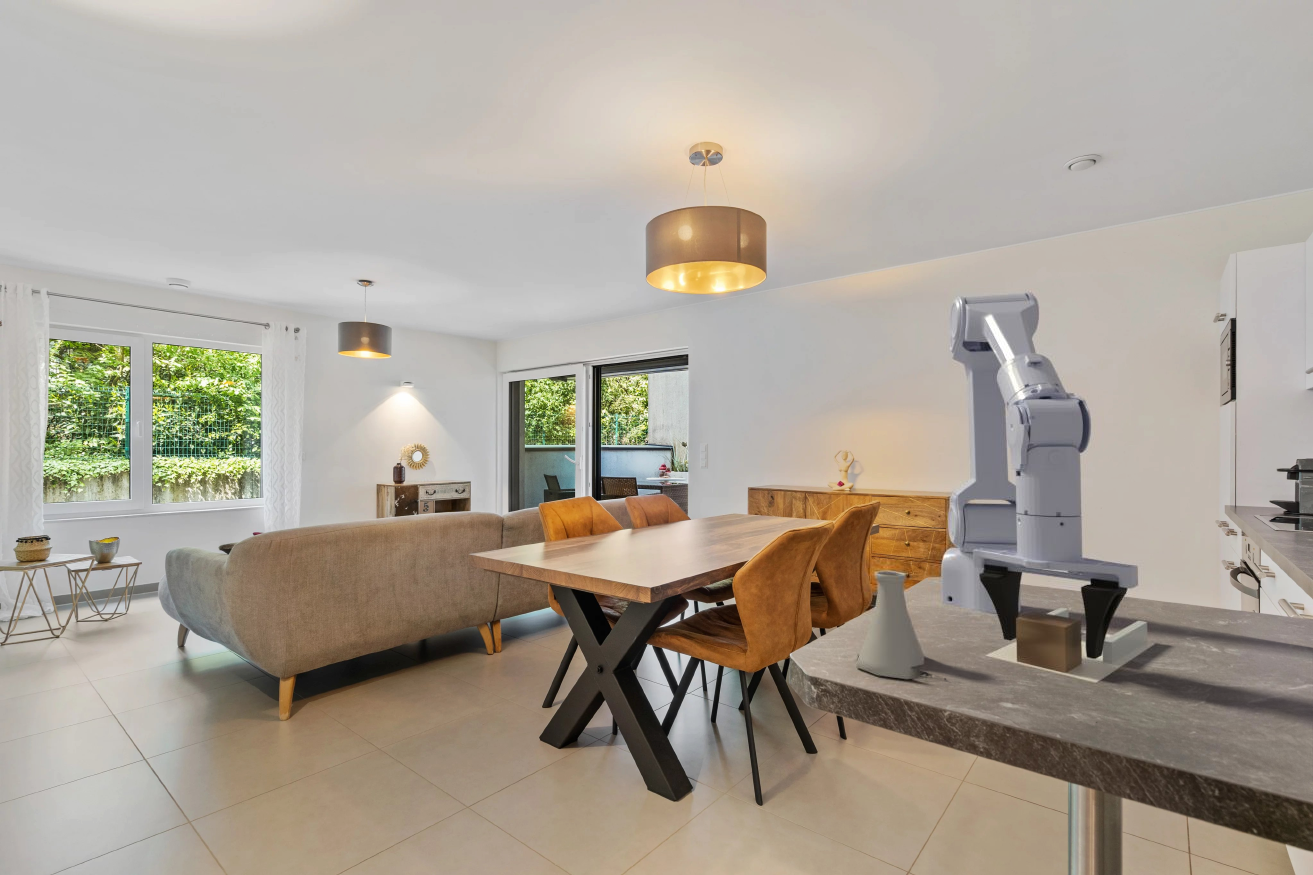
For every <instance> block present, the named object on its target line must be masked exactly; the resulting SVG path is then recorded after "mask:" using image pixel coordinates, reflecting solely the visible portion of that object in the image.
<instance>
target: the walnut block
mask: <svg viewBox="0 0 1313 875" xmlns="http://www.w3.org/2000/svg"><path fill="white" fill-rule="evenodd" d="M1081 629H1082V619H1078V618H1072V617H1069V618H1067V617H1062V616H1056V615H1050V614H1047V613H1044V612H1043V613H1042V612H1038V611H1031V612H1028V613H1026V614H1024V615H1021V616H1019V617H1018V618H1016V638H1015V640H1016V641H1015V642H1017V662H1021V663H1025V664H1029V665H1033V666H1037V667H1042V668H1046V669H1050V670H1054V671H1058V672H1062V673H1067V672H1069V671H1070V670H1072V669H1074V668H1075V667H1077V666H1079V665H1081V664H1082V644H1081V641H1082V633H1081Z"/></svg>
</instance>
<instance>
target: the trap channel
mask: <svg viewBox="0 0 1313 875" xmlns="http://www.w3.org/2000/svg"><path fill="white" fill-rule="evenodd" d="M1069 612H1070V611H1069V608H1066V607H1059V608H1057V609H1055V610H1052V611H1050V612H1047V613H1046V614H1050V615H1056V616H1062V617H1067V618H1070V617H1069V616H1070V615H1069ZM1081 634H1085V635H1086V629H1083V628H1081ZM1081 644H1082V664H1081V665H1079V666H1077V667H1075V668H1074V669H1072V670H1070V671H1069V672H1067V673H1062V672H1058V671H1054V670H1050V669H1046V668H1042V667H1037V666H1033V665H1029V664H1025V663H1021V662H1017V641H1015V642H1012V643H1010V644H1007V645H1006V646H1003V647H1000V648H998V649H997V650H994V651H992V652H989V653H988V654H985V657H989V658H993V659H997V660H1001V661H1004V662H1009V663H1012V664H1013V663H1014V664H1016V665H1021V666H1026V667H1029V668H1034V669H1038V670H1042V671H1046V672H1049V673H1054V674H1058V675H1061V676H1062V675H1063V676H1067V677H1070V678H1074V679H1075V678H1076V679H1080V680H1083V681H1088V682H1091V683H1095V684H1096V683H1099V682H1100V681H1102V680H1103V679H1105V678H1106V677H1108V676H1109V675H1111V674H1112V673H1113V672H1115V671H1116V670H1119V668H1122V667H1123V666H1125V665H1126V664H1127V663H1129V662H1130V661H1131V660H1133V659H1134V658H1137V657H1138V656H1139V655H1140V654H1142V653H1143V652H1145V651H1147V650H1148V649H1150V648H1151V647H1152V646H1154V645H1156V643H1154V642H1150V641H1148V622H1147V621H1143V620H1137V621H1135V622H1133V623H1132V624H1130V625H1128V626H1127V627H1124V628H1122V629H1121V630H1119V631H1117V632H1115V633H1113V634H1107V633H1106V636H1105V640H1104V645H1103V650H1102V655H1101V656H1100V657H1098V658H1096V659H1092V658H1087V655H1086V641H1082V640H1081Z"/></svg>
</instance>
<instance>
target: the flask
mask: <svg viewBox="0 0 1313 875" xmlns="http://www.w3.org/2000/svg"><path fill="white" fill-rule="evenodd" d="M906 578H907V573H905V572H902V571H895V570H879V571H874V579H875V580H876V581H877V595H876V599H875V600H876V601H875V607H874V612H873V614H872V618H871V621H870V624H869V627H868V631H867V634H866V636H865V639H864V642H863V643H862V644H863V645H862V648H861V651H860V654H859V656H858V659H857V662H856V666H855V667H856V668H857V669H858V668H859V669H861V670H863V671H865V672H869V673H871V674H872V675H873V674H874V675H877V676H881V677H882V676H883V677H889V678H897V679H901V680H902V679H904V680H909V679H914V678H917V677H922V676H925V675H928V672H927V671H925V670H921V669H917V668H915V667H918V666H923V665H924V664H925V655H924V654H925V653H924V652H923V649H922V647H921V644H920V642H919V640H918V637H917V633H916V631H915V628H914V626H913V623H912V620H911V617H910V614H909V610H908V607H907V603H906V598H905V596H906V595H905V589H904V588H905V587H904V585H905V584H904V582H905V581H906ZM913 667H914V668H913Z"/></svg>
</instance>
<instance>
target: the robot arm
mask: <svg viewBox="0 0 1313 875" xmlns="http://www.w3.org/2000/svg"><path fill="white" fill-rule="evenodd" d="M949 311H950V312H949V349H950V352H951V359H952V360H954V361H957V362H959V363H961V364H962V365H963V367H964V370H965V376H966V381H967V388H966V389H967V412H968V413H967V414H968V417H967V419H968V442H969V446H968V447H969V448H968V449H969V470H970V471H969V472H970V478H969V480H967V481H966V482H965V483H963V484H962V485H960V486H958V487H957V488H956V489H954V490H953V491H952V493H951V494H950V496H949V509H948V515H947V527H948V528H947V529H948V535H949V540H950V542H951V543H952V544H953V546H955V547H950V548H948V549H946V551H945V552H944V554H943V557H942V561H941V564H940V565H941V566H940V567H941V569H940V574H941V577H940V578H941V581H940V584H941V585H940V586H941V604H943V605H944V604H945V605H948V606H949V605H950V606H954V607H955V606H956V607H959V608H964V609H968V610H972V611H976V612H980V613H988V614H996V615H997V617H998V620H999V623H1000V628H1001V631H1002V635H1003V639H1004V640H1005V641H1009V642H1010V641H1013V640H1016V618H1018V617H1020V614H1019V613H1020V612H1021V611H1022V608H1021V607H1022V606H1021V605H1022V596H1021V593H1022V592H1021V581H1022V576H1023V573H1025V574H1032V575H1040V576H1045V577H1054V578H1055V577H1056V578H1061V579H1069V580H1074V581H1075V580H1077V581H1083V582H1090V584H1085V585H1082V586H1080V593H1081V598H1082V601H1083V608H1084V609H1083V610H1084V614H1085V617H1084V619H1085V630H1086V634H1085V642H1086V655H1087V658H1092V659H1096V658H1098V657H1100V656H1101V655H1102V650H1103V645H1104V640H1105V639H1106V638H1105V636H1106V634H1107V633H1108V630H1109V626H1110V624H1111V621H1112V620H1113V617H1114V615H1115V613H1116V612H1117V609H1118V608H1119V606H1120V604H1121V603H1122V600H1123V598H1124V597H1125V596H1126V594H1127V591H1128V589H1130V590H1131V589H1133V588H1136V587H1138V586H1139V571H1138V569H1139V566H1138V565H1133V564H1128V563H1126V564H1125V563H1120V562H1119V563H1118V562H1112V561H1106V560H1101V559H1094V558H1093V559H1092V558H1088V557H1087V558H1086V557H1083V529H1082V525H1083V523H1082V522H1083V520H1082V519H1083V518H1082V484H1081V483H1082V480H1081V477H1082V474H1081V472H1082V471H1081V469H1082V467H1081V454H1082V453H1084V452H1085V451H1087V448H1088V446H1089V443H1090V441H1091V440H1090V439H1091V434H1092V419H1091V413H1090V409H1089V407H1088V405H1087V404H1088V403H1086V400H1085V399H1084V398H1083V397H1082V396H1080V395H1079V396H1076V395H1075V394H1074V393H1073V392H1067V391H1066V389H1065V387H1064V386H1063V384H1062V381H1061V380H1060V377H1059V374H1058V373H1057V370H1056V369H1055V367H1054V364H1053V363H1052V361H1051V360H1050V359H1049V358H1048V357H1046V356H1045V355H1042V354H1039V353H1037V352H1036V349H1035V345H1034V341H1033V336H1034V335H1035V333H1036V332H1037V330H1038V325H1039V319H1040V307H1039V302H1038V299H1037V297H1036V296H1035V295H1034V294H1033V293H1032V292H1030V291H1026V292H1023V293H1013V294H1012V293H1011V294H994V295H979V296H977V295H975V296H961V295H959V296H956V298H955V299H954V300H953V301H952V302H951V306H950V310H949ZM1006 410H1007V412H1008V413H1007V415H1006ZM1008 447H1009V453H1010V464H1011V468H1012V470H1015V484H1014V483H1013V482H1011V481H1010V480H1009V465H1008ZM975 500H977V501H979V500H981V501H982V500H987V501H989V500H990V501H994V500H995V501H1006V502H1007V503H980V502H979V503H976V502H975V503H974V502H973V503H972V502H970V501H975Z"/></svg>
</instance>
